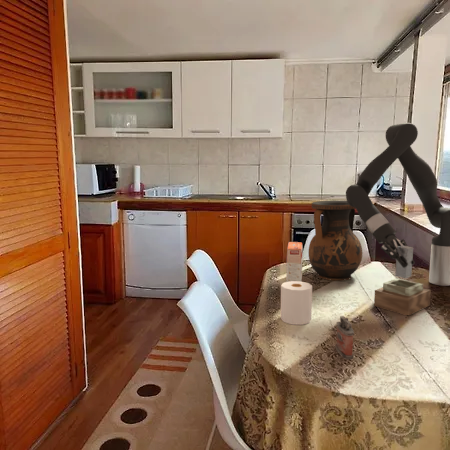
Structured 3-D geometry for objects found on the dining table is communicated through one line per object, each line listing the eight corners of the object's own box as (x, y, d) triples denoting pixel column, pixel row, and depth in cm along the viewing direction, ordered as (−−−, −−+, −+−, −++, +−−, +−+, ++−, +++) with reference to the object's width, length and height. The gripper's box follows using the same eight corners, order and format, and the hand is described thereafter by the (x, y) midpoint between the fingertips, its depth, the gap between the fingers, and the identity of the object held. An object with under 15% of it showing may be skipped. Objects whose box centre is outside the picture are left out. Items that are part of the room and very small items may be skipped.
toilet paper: (275, 316, 140) (275, 283, 139) (300, 311, 144) (301, 279, 143) (291, 327, 131) (291, 291, 129) (317, 321, 135) (318, 287, 133)
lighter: (333, 346, 117) (334, 313, 116) (344, 345, 118) (345, 313, 116) (343, 359, 109) (345, 324, 108) (355, 358, 110) (357, 324, 108)
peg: (400, 274, 151) (402, 245, 149) (411, 276, 148) (413, 247, 146) (395, 275, 148) (397, 246, 147) (405, 278, 145) (407, 248, 143)
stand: (396, 296, 160) (397, 275, 158) (429, 305, 150) (431, 283, 148) (374, 305, 150) (375, 283, 148) (408, 315, 140) (409, 292, 138)
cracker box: (301, 302, 155) (302, 248, 151) (285, 301, 156) (286, 248, 153) (301, 290, 168) (302, 241, 165) (287, 289, 169) (288, 241, 166)
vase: (319, 266, 206) (321, 198, 201) (368, 273, 192) (371, 201, 187) (299, 277, 187) (300, 202, 182) (351, 286, 173) (354, 205, 167)
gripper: (377, 223, 146) (407, 262, 139) (397, 220, 155) (426, 256, 148) (363, 236, 151) (391, 274, 144) (383, 232, 160) (411, 267, 153)
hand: (409, 265), depth 146 cm, fingers closed on peg, 4 cm apart
